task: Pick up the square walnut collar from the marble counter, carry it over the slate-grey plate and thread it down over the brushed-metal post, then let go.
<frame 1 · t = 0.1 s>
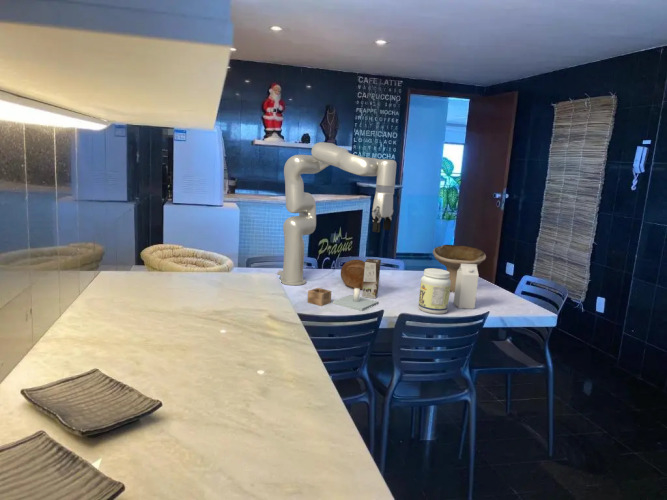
hand: (381, 230, 210), 31 cm above the table, fingers open, 9 cm apart
collar: (319, 302, 210), on the table
bread: (356, 283, 247), on the table
coffee box: (370, 295, 226), on the table
supplement tub: (432, 310, 211), on the table
bowl: (454, 288, 250), on the table
milk carton: (463, 306, 220), on the table
post plate: (355, 303, 212), on the table
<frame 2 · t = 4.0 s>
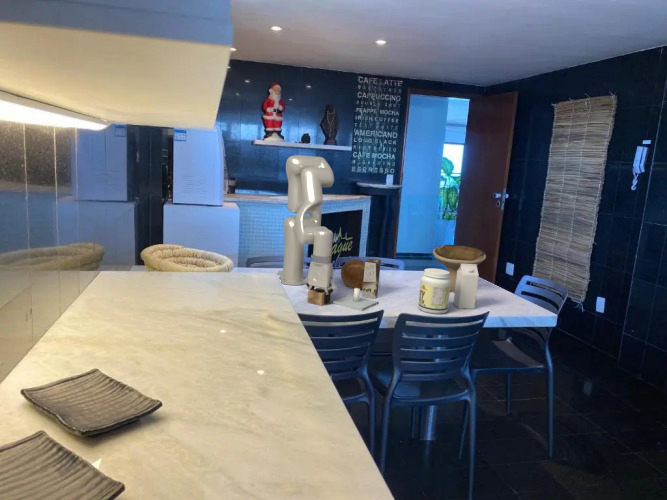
hand: (319, 300, 210), 1 cm above the table, fingers closed on collar, 7 cm apart
collar: (319, 302, 210), on the table, touching gripper
everything else where it was.
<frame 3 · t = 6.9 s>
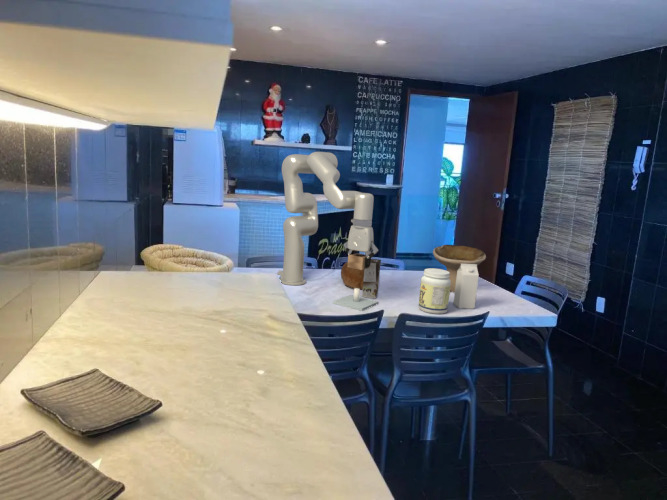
hand: (359, 265, 209), 17 cm above the table, fingers closed on collar, 7 cm apart
collar: (358, 267, 209), point 16 cm above the table, touching gripper
everything else where it was.
when the fingers open (4 cm above the table, at t = 9.9 s): collar drops 2 cm, resting on post plate.
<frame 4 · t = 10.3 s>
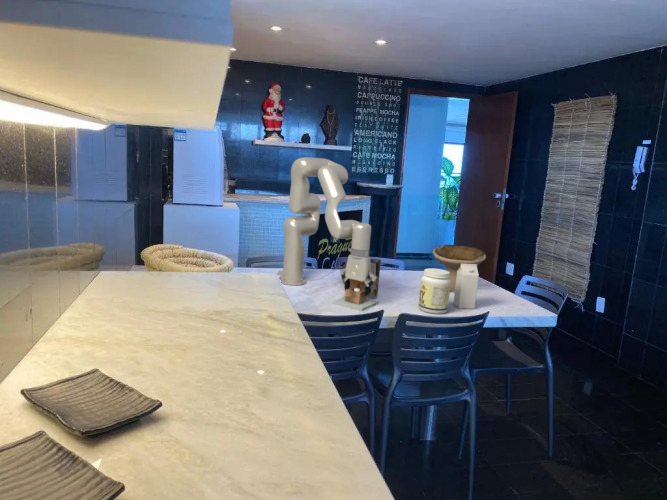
hand: (356, 292, 211), 5 cm above the table, fingers open, 9 cm apart
collar: (355, 301, 212), point 1 cm above the table, touching post plate
everything else where it was.
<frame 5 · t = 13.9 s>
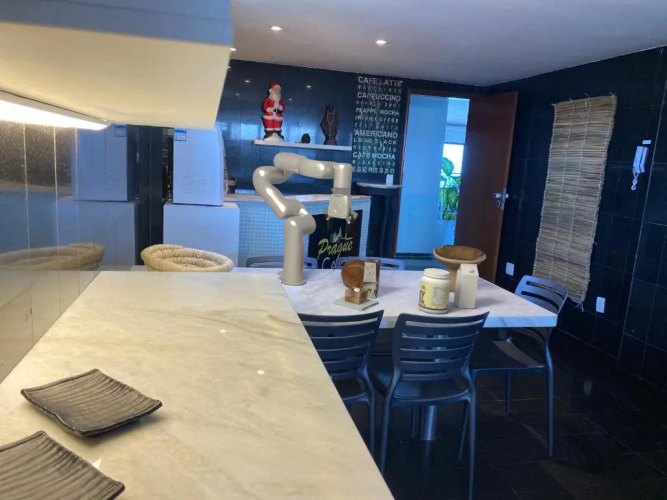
hand: (339, 230, 222), 28 cm above the table, fingers open, 9 cm apart
nothing on the table moved.
at the end: collar 0.1 cm off-centre on the post plate, point 1.0 cm above the post plate's base; the gripper is holding nothing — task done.
